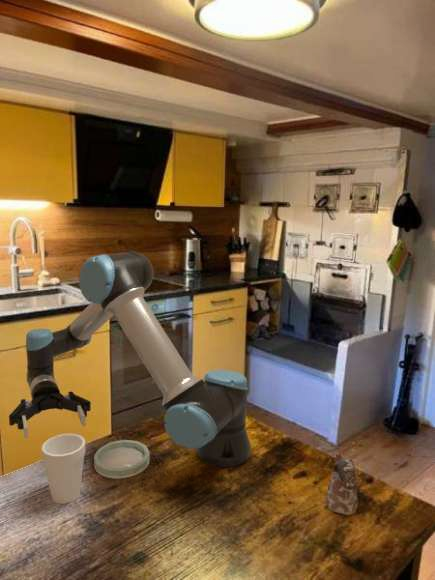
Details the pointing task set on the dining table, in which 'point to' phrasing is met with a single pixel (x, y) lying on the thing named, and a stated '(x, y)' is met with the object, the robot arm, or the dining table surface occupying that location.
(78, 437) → the foam cup
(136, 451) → the ceramic saucer
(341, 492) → the figurine
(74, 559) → the dining table surface
